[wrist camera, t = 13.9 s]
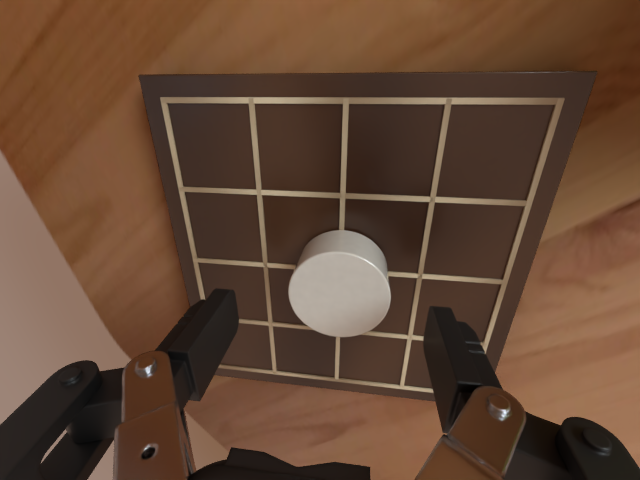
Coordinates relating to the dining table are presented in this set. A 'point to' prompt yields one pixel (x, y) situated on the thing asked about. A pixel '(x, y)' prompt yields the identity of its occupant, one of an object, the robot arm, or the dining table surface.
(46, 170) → the dining table surface
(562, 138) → the board
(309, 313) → the white cylindrical puck
